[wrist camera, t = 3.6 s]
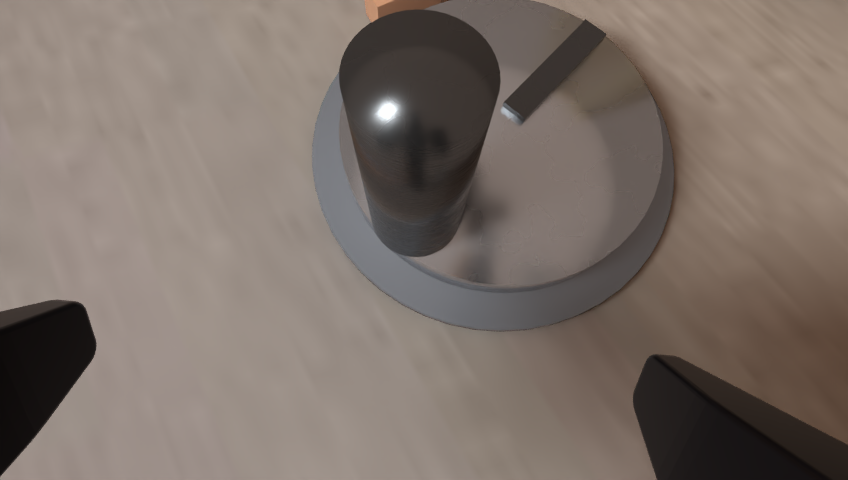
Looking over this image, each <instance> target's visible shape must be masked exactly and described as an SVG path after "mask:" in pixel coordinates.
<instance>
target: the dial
mask: <svg viewBox="0 0 848 480" xmlns="http://www.w3.org/2000/svg"><path fill="white" fill-rule="evenodd" d="M339 85H340V90H341V94H342V99H343V102H342V106H341V111H340V121H339V142H340V152H341V157H342V161H343V166H344V170H345V173H346V177H347V180H348V183H349V186H350V189H351V191H352V194H353V197H354V199H355V202H356V204H357V206H358V208H359V210H360V211H361V213H362V215H363V217H364V219H365V220H366V222H367V223H368V224H369V226H370V227H371V228H372V230H373V231H374V232H375V234H376V235H377V236H378V238H379V239H380V241H381V242H382V243H383V244H384V245H385V246H386V247H388V248H389V249H390V250H391V251H392V252H394V253H395V254H396V255H398V256H399V257H400V258H401V259H403V260H404V261H405V262H407V263H408V264H409V265H411V266H413V267H414V268H416V269H418V270H420V271H421V272H423V273H425V274H426V275H428V276H431V277H433V278H435V279H438V280H440V281H442V282H445V283H447V284H451V285H454V286H458V287H461V288H465V289H469V290H476V291H482V292H489V293H515V292H524V291H533V290H536V289H540V288H544V287H548V286H552V285H555V284H558V283H560V282H562V281H565V280H567V279H570V278H572V277H574V276H576V275H577V274H579V273H581V272H583V271H584V270H586V269H588V268H590V267H591V266H593V265H594V264H596V263H597V262H599V261H600V260H602V259H603V258H605V257H606V256H607V255H609V254H610V253H611V252H612V251H614V250H615V249H616V248H617V247H619V246H620V245H621V244H622V243H623V242H624V241H625V240H626V239H627V238H628V237H629V235H630V234H631V233H632V232H633V231H634V230H635V229H636V227H637V226H638V224H639V223H640V221H641V220H642V219H643V217H644V216H645V214H646V212H647V210H648V208H649V206H650V204H651V202H652V200H653V198H654V196H655V192H656V189H657V186H658V183H659V179H660V174H661V167H662V161H663V138H662V132H661V125H660V120H659V116H658V113H657V110H656V106H655V103H654V101H653V98H652V96H651V94H650V92H649V89H648V87H647V85H646V84H645V82H644V80H643V79H642V77H641V75H640V74H639V72H638V71H637V69H636V68H635V66H634V65H633V64H632V63H631V61H630V60H629V59H628V58H627V56H626V55H625V54H624V53H623V52H622V51H621V50H620V49H619V48H618V47H617V46H616V45H615V44H614V43H613V42H612V41H611V40H610V39H608V38H607V37H606V33H604V32H603V31H601V30H600V29H598V28H597V27H596V26H594V25H593V24H591V23H590V22H588V21H587V20H586V19H585V20H584V21H583V20H581V19H579V18H577V17H575V16H573V15H571V14H569V13H567V12H565V11H563V10H560V9H558V8H555V7H552V6H549V5H546V4H544V3H539V2H535V1H531V0H450V1H446V2H443V3H440V4H436V5H433V6H430V7H428V8H426V9H423V10H419V9H415V10H405V11H399V12H395V13H392V14H388V15H386V16H383V17H381V18H379V19H377V20H375V21H373V22H372V23H370V24H368V25H367V26H366V27H364V28H363V29H362V30H361V31H360V32H359V33H358V34H357V35H356V36H355V37H354V38H353V39H352V41H351V42H350V43H349V45H348V47H347V49H346V50H345V52H344V55H343V57H342V60H341V65H340V70H339Z"/></svg>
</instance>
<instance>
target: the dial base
mask: <svg viewBox="0 0 848 480" xmlns="http://www.w3.org/2000/svg"><path fill="white" fill-rule="evenodd" d="M440 3H441V0H365V6H366V14H367V16H368V17H369V19H370V21H371V22H373V21H375V20H377V19H379V18H381V17H383V16H386V15H388V14H392V13H395V12H399V11H405V10H415V9H419V10H423V9H426V8H428V7H430V6H433V5H436V4H440ZM649 92H650V91H649ZM650 94H651V93H650ZM651 96H652V94H651ZM652 98H653V96H652ZM653 101H654V103H655V106H656V110H657V113H658V116H659V120H660V125H661V132H662V138H663V161H662V167H661V174H660V179H659V183H658V186H657V189H656V192H655V196H654V198H653V200H652V202H651V204H650V206H649V208H648V210H647V212H646V214H645V216H644V217H643V219H642V220H641V221H640V223H639V224H638V226H637V227H636V229H635V230H634V231H633V232H632V233H631V234H630V235H629V237H628V238H627V239H626V240H625V241H624V242H623V243H622V244H621V245H620V246H619V247H617V248H616V249H615V250H614V251H612V252H611V253H610V254H609V255H607V256H606V257H605V258H603V259H602V260H600V261H599V262H597V263H596V264H594V265H593V266H591V267H590V268H588V269H586V270H584V271H583V272H581V273H579V274H577V275H576V276H574V277H572V278H570V279H567V280H565V281H562V282H560V283H558V284H555V285H552V286H548V287H544V288H540V289H536V290H533V291H524V292H515V293H489V292H482V291H476V290H469V289H465V288H461V287H458V286H454V285H451V284H447V283H445V282H442V281H440V280H438V279H435V278H433V277H431V276H428V275H426V274H425V273H423V272H421V271H420V270H418V269H416V268H414V267H413V266H411V265H409V264H408V263H407V262H405V261H404V260H403V259H401V258H400V257H399V256H398V255H396V254H395V253H394V252H392V251H391V250H390V249H389V248H388V247H386V246H385V245H384V244H383V243H382V242H381V241H380V239H379V238H378V236H377V235H376V234H375V232H374V231H373V230H372V228H371V227H370V226H369V224H368V223H367V222H366V220H365V219H364V217H363V215H362V213H361V211H360V210H359V208H358V206H357V204H356V202H355V199H354V197H353V194H352V191H351V189H350V186H349V183H348V180H347V177H346V173H345V170H344V166H343V161H342V157H341V152H340V142H339V121H340V111H341V106H342V102H343V99H342V94H341V90H340V85H339V73H338V74H337V76H336V77H335V79H334V80H333V82H332V83H331V85H330V87H329V89H328V91H327V94H326V96H325V98H324V100H323V102H322V105H321V108H320V111H319V115H318V118H317V121H316V125H315V132H314V138H313V153H312V167H313V174H314V181H315V188H316V192H317V195H318V198H319V202H320V205H321V208H322V211H323V214H324V216H325V218H326V220H327V222H328V224H329V227H330V229H331V231H332V233H333V235H334V237H335V238H336V240H337V241H338V243H339V244H340V246H341V248H342V249H343V251H344V252H345V254H346V255H347V257H348V258H349V259H350V260H351V261H352V262H353V264H354V265H355V266H356V267H357V268H358V269H359V271H360V272H361V273H362V274H363V275H364V276H365V277H366V278H367V279H369V280H370V281H371V282H372V283H373V284H374V285H375V286H376V287H378V288H379V289H380V290H381V291H382V292H384V293H385V294H387V295H388V296H390V297H391V298H393V299H394V300H396V301H397V302H399V303H400V304H402V305H404V306H406V307H408V308H410V309H412V310H414V311H416V312H418V313H420V314H422V315H424V316H426V317H429V318H432V319H435V320H438V321H440V322H443V323H446V324H449V325H454V326H459V327H464V328H469V329H474V330H486V331H515V330H527V329H532V328H537V327H542V326H547V325H552V324H554V323H557V322H560V321H563V320H566V319H569V318H571V317H574V316H577V315H579V314H581V313H583V312H585V311H587V310H589V309H591V308H592V307H594V306H596V305H598V304H600V303H602V302H603V301H604V300H606V299H607V298H609V297H610V296H611V295H613V294H614V293H616V292H617V291H618V290H620V289H621V288H622V287H623V286H624V285H625V284H626V283H627V282H628V281H629V280H630V279H631V278H632V277H633V276H634V275H635V274H636V273H637V272H638V271H639V269H640V268H641V267H642V266H643V264H644V263H645V262H646V260H647V259H648V258H649V256H650V255H651V253H652V252H653V250H654V248H655V246H656V244H657V242H658V240H659V239H660V237H661V235H662V232H663V229H664V227H665V224H666V221H667V218H668V215H669V212H670V207H671V202H672V197H673V188H674V163H673V153H672V147H671V143H670V138H669V134H668V130H667V127H666V125H665V122H664V119H663V117H662V114H661V112H660V109H659V107H658V105H657V104H656V102H655V100H654V98H653Z"/></svg>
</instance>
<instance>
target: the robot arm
mask: <svg viewBox="0 0 848 480" xmlns="http://www.w3.org/2000/svg"><path fill="white" fill-rule="evenodd" d="M95 351H96V339H95V336H94V333H93V330H92V327H91V323H90V320H89V317H88V314H87V311H86V308H85V307H84V306H83V305H82V304H81V303H79V302H76V301H65V300H50V301H45V302H41V303H37V304H32V305H28V306H23V307H19V308H15V309H10V310H6V311H2V312H0V476H1V475H2V474H3V473H4V472H5V471H6V470H7V468H8V467H9V466H10V465H11V464H12V463H13V462H14V461H15V459H16V458H17V457H18V456H19V455H20V454H21V453H22V452H23V450H24V449H25V448H26V447H27V446H28V445H29V443H30V442H31V441H32V440H33V439H34V438H35V436H36V435H37V434H38V433H39V431H40V430H41V429H42V427H43V426H44V425H45V423H46V422H47V421H48V419H49V418H50V417H51V415H52V414H53V413H54V411H55V410H56V409H57V407H58V406H59V404H60V403H61V402H62V400H63V399H64V398H65V396H66V395H67V394H68V392H69V391H70V389H71V388H72V387H73V385H74V384H75V383H76V381H77V380H78V379H79V377H80V376H81V375H82V373H83V372H84V370H85V369H86V368H87V366H88V365H89V364H90V362H91V361H92V359H93V357H94V355H95ZM633 405H634V410H635V413H636V416H637V419H638V423H639V426H640V429H641V432H642V435H643V438H644V441H645V444H646V447H647V450H648V453H649V457H650V460H651V463H652V466H653V469H654V472H655V475H656V478H657V480H848V445H847V444H845V443H843V442H841V441H839V440H837V439H835V438H833V437H832V436H830V435H828V434H826V433H824V432H822V431H820V430H818V429H816V428H814V427H812V426H810V425H808V424H806V423H805V422H803V421H801V420H799V419H797V418H795V417H793V416H791V415H789V414H787V413H785V412H783V411H781V410H779V409H778V408H776V407H774V406H772V405H770V404H768V403H766V402H764V401H762V400H760V399H758V398H756V397H754V396H752V395H751V394H749V393H747V392H745V391H743V390H741V389H739V388H737V387H735V386H733V385H731V384H729V383H727V382H726V381H724V380H722V379H720V378H718V377H716V376H714V375H712V374H710V373H708V372H706V371H704V370H702V369H700V368H699V367H697V366H695V365H693V364H691V363H689V362H687V361H685V360H683V359H681V358H679V357H676V356H669V355H658V354H654V355H651V356H650V357H649V358H648V359H647V361H646V363H645V365H644V368H643V370H642V373H641V375H640V378H639V380H638V383H637V385H636V387H635V390H634V395H633Z"/></svg>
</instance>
